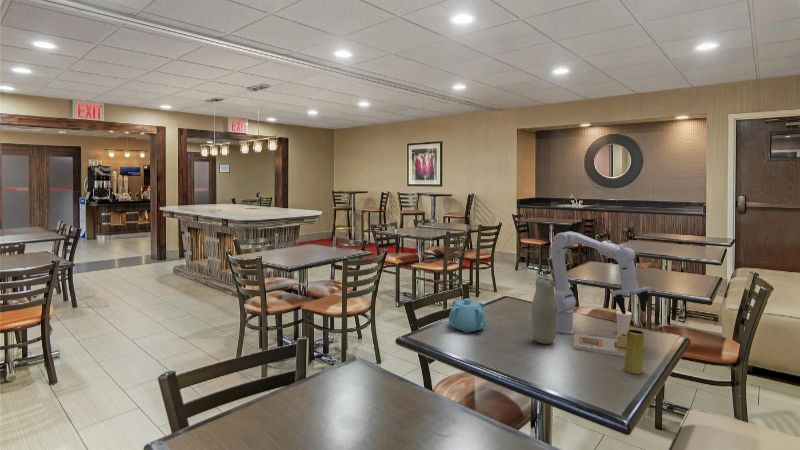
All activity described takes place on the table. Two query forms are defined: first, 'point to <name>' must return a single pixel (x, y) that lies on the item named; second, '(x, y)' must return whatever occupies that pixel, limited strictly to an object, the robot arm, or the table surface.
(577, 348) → the panel
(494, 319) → the table surface
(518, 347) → the table surface
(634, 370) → the vase
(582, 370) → the table surface
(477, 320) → the decorative pot
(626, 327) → the smoothie
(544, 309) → the glass bottle
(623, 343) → the brass nut
